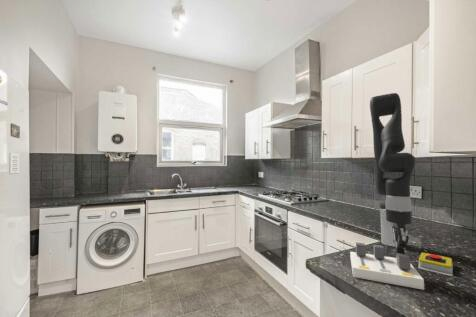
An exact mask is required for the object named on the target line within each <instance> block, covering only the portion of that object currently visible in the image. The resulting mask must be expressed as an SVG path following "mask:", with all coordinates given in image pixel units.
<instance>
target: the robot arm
mask: <svg viewBox="0 0 476 317" xmlns="http://www.w3.org/2000/svg"><path fill="white" fill-rule="evenodd" d="M369 109H370V117H371V125H372V126H371V127H372V132H373V134H372V136H373V137H372V138H373V140H372V141H373V154H374V156H373V157H374V162H375V190H376V193H377V194H378V195H380V196H385V201H383V202H380V205H379V210H380V211H379V214H380V238H381V241H380V242H381V244H382V245H385V246H390V247H394V248H395V258H397V253H400V254H406V253H405V250H406V249H407V248H408V244H409V239H410V237H409V235H408V233H409V232H408V229H407V228H406V225H411V224H412V223H413V210H412V208H413V207H412V200H411V188H410V187H411V179H412V175H413V171H414V169H415V165H416V159H415V156H414V155H413V154H412V153H411V152H402V151H404V150H405V147H406V144H405V139H404V134H403V129H402V127H403V126H402V124H403V122H402V118H403V117H402V103H401V97H400V95H399V93H397V92H391V93H385V94H382V95H375V96H373V97H371V98H370V100H369ZM386 116H391V117H390V119H389V120H388V121H387V123H386V124H385V125H384V124H383V123H382V121H381V119H380V117H386ZM385 173H401V175H400V176H399V177H397V176H396V177H395V176H394V177H388V176H386V177H384V176H385V175H384V174H385Z"/></svg>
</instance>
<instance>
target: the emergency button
mask: <svg viewBox="0 0 476 317" xmlns="http://www.w3.org/2000/svg"><path fill="white" fill-rule="evenodd" d="M417 268H418V269H420V270H424V271H427V272H432V273H436V274H439V275H440V274H441V275H446V276H450V277H453V275H454V274H453V273H454V272H453V270H454V265H453V260H452V258H451V257H447V256H443V255H438V254H437V255H436V254H431V253H426V252H421V253H420V255H419V258H418V266H417Z"/></svg>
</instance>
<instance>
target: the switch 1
mask: <svg viewBox="0 0 476 317" xmlns="http://www.w3.org/2000/svg"><path fill="white" fill-rule="evenodd" d="M355 252H356V254H357V255H359V256H366V254H367V252H366V244H365V243H364V242H363V243H362V242H355Z"/></svg>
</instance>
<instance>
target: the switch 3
mask: <svg viewBox="0 0 476 317" xmlns="http://www.w3.org/2000/svg"><path fill="white" fill-rule="evenodd" d="M396 258H397V265H398V267H399V268H400V269H406V270H411V266H410V263H411V257H410V255H409V254H407V253H405V254H400V253H397V257H396Z"/></svg>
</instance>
